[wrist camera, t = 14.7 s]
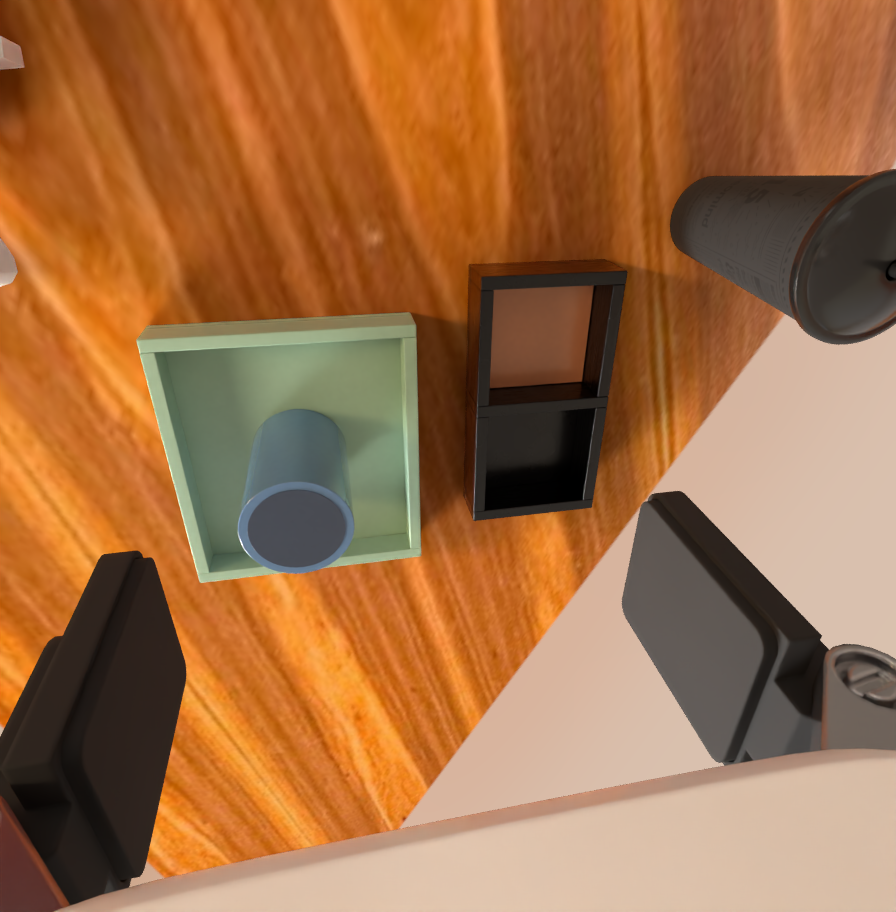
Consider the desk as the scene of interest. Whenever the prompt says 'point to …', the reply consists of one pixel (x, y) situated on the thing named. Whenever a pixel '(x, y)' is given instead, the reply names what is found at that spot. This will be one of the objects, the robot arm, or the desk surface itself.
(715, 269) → the drinking cup
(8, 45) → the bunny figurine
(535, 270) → the black divided tray
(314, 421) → the blue cup
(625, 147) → the desk surface
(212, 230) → the desk surface
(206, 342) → the tray
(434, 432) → the desk surface
